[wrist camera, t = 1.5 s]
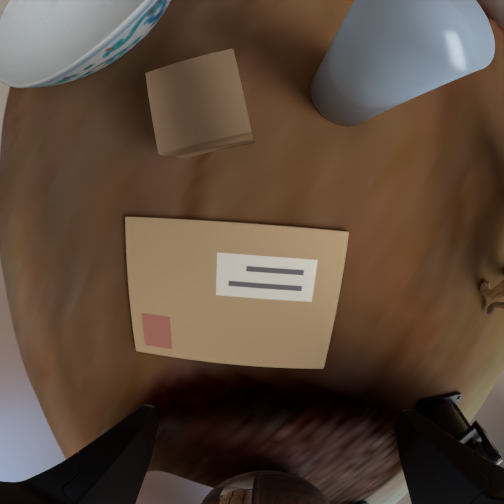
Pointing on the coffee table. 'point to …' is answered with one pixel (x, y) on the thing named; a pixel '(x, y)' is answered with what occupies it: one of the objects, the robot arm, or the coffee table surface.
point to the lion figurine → (493, 294)
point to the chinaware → (69, 37)
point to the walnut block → (198, 106)
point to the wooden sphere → (265, 490)
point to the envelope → (234, 290)
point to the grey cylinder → (398, 55)
